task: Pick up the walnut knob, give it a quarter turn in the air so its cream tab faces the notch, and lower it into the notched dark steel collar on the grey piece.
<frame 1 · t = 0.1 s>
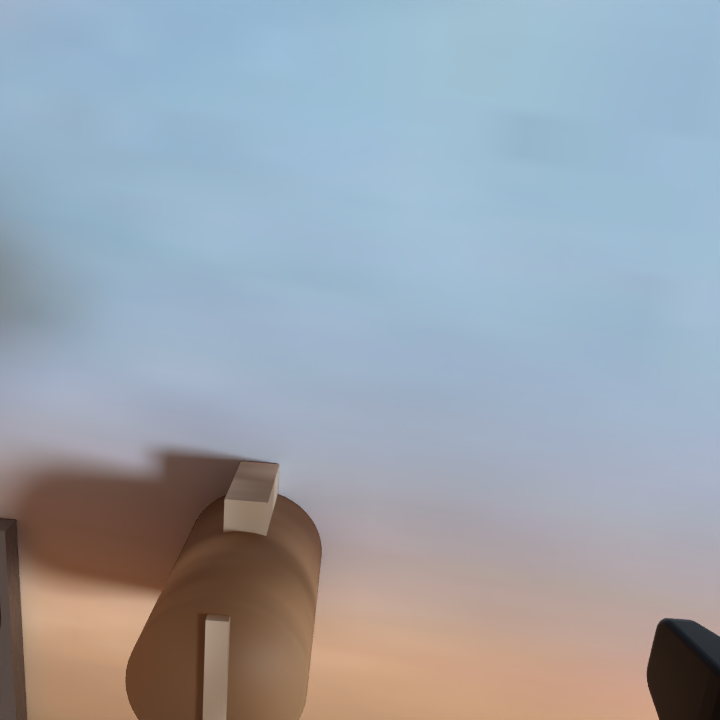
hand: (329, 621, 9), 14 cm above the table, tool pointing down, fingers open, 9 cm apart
knob: (255, 550, 25), on the table
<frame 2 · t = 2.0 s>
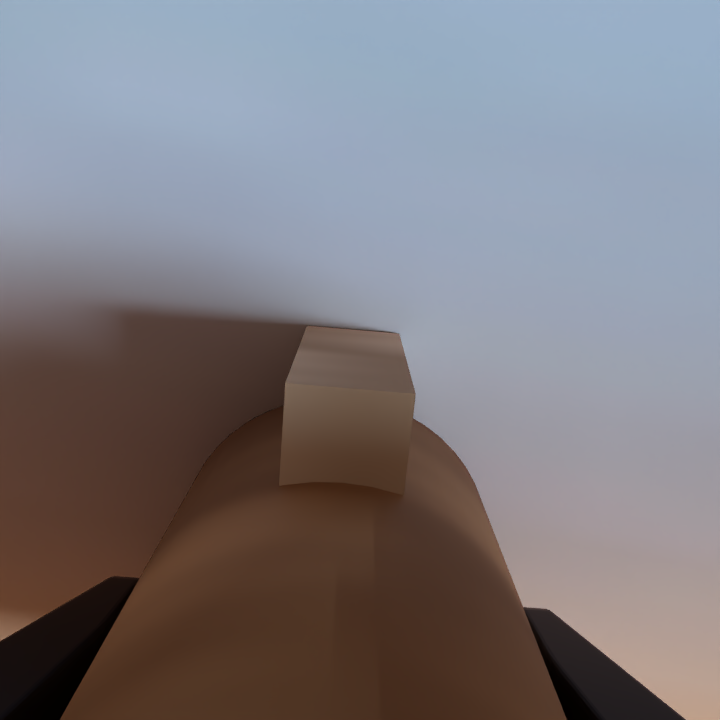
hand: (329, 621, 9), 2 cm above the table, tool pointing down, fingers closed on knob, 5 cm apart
knob: (334, 541, 11), on the table, touching gripper
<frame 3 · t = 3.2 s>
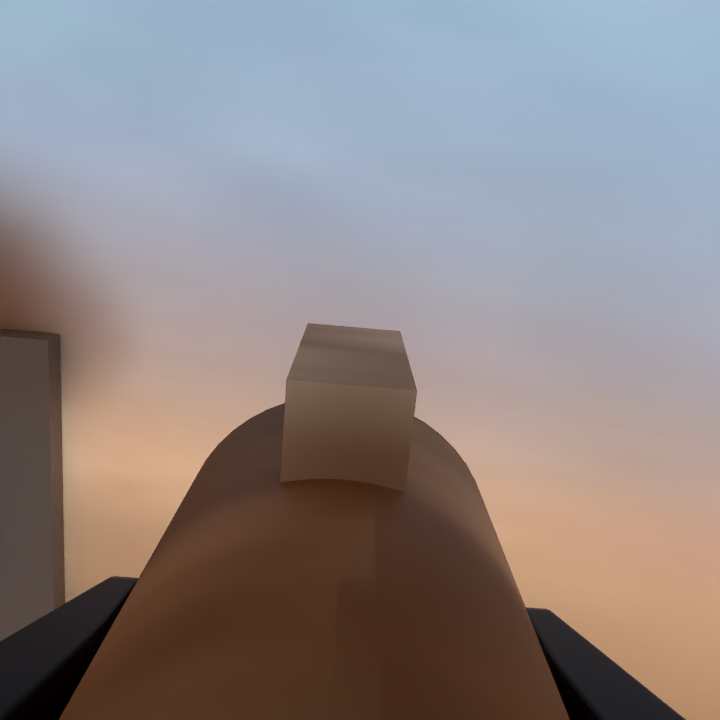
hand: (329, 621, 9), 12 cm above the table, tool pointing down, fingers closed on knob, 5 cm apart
knob: (335, 539, 11), point 10 cm above the table, touching gripper
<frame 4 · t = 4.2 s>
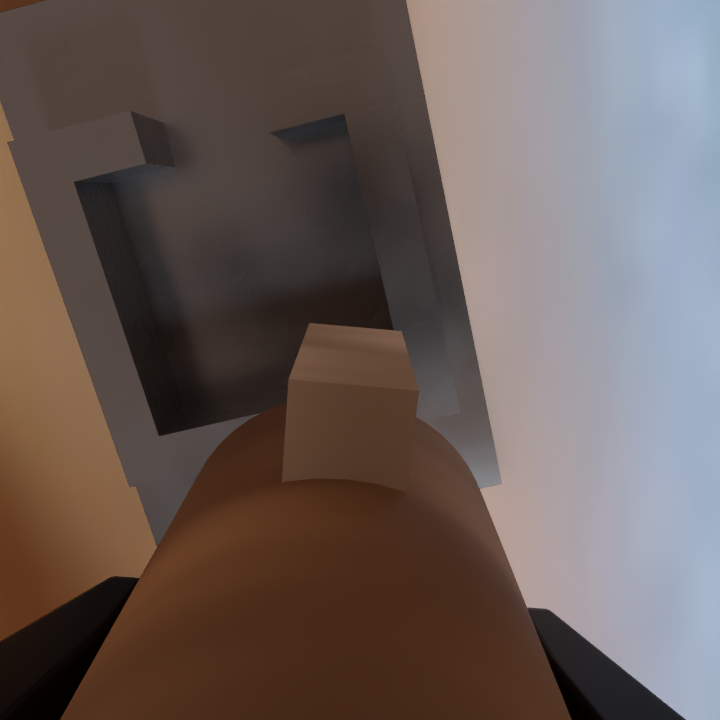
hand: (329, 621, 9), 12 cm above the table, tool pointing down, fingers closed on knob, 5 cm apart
grey piece: (264, 269, 19), on the table
knob: (336, 539, 11), point 10 cm above the table, touching gripper
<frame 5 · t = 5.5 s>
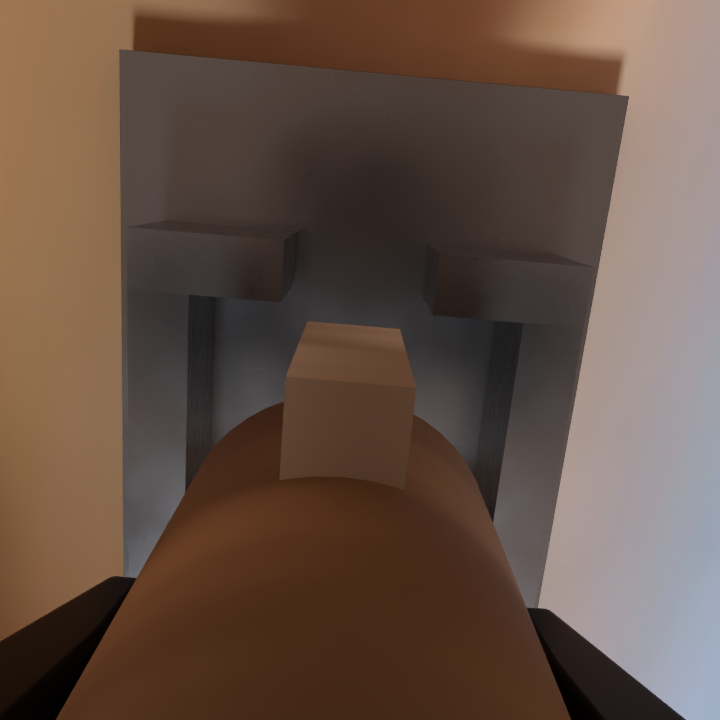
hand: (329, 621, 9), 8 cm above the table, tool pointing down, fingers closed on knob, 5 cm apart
grey piece: (347, 411, 17), on the table
knob: (335, 538, 11), point 6 cm above the table, touching gripper
when the fingers open (4 cm above the table, at t = 6.6 s): knob drops 1 cm, resting on grey piece.
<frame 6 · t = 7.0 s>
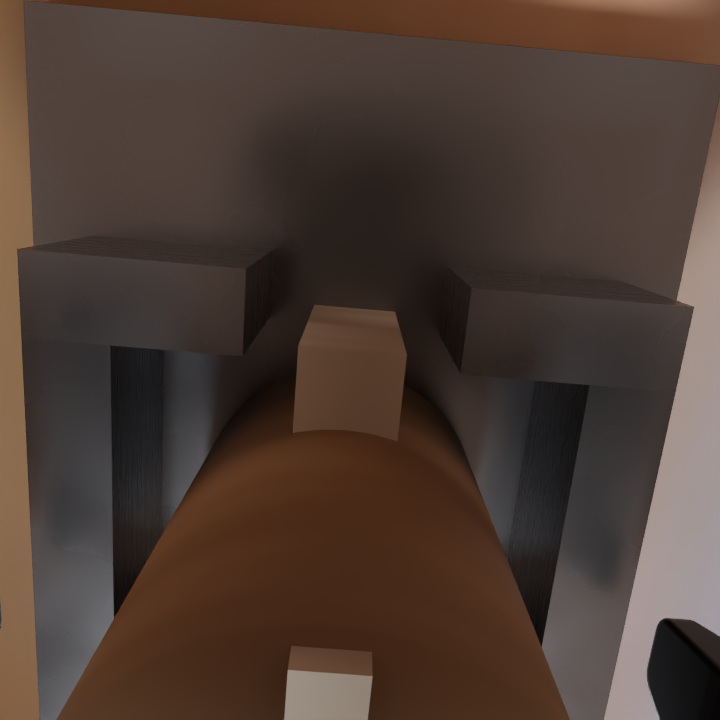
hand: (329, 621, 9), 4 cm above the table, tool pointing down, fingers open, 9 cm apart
grey piece: (340, 481, 13), on the table
knob: (338, 497, 12), point 1 cm above the table, touching grey piece
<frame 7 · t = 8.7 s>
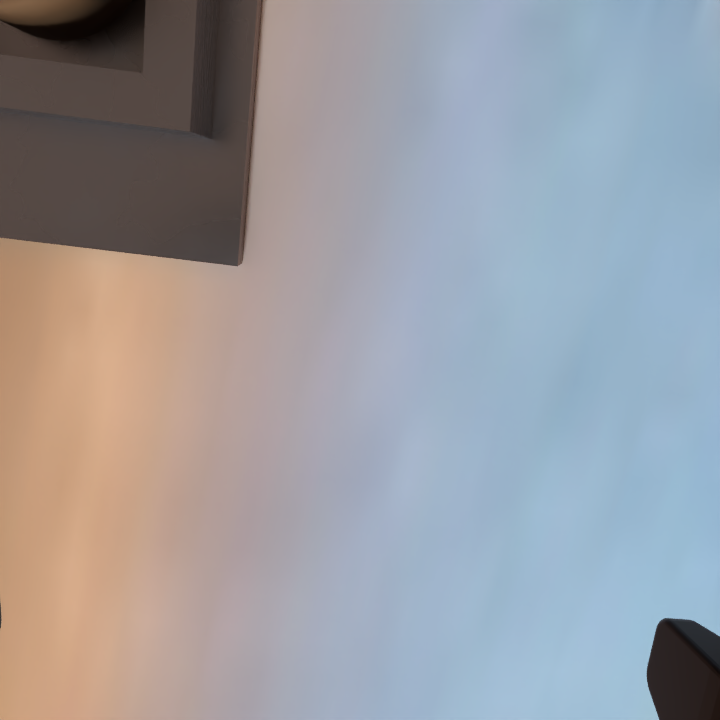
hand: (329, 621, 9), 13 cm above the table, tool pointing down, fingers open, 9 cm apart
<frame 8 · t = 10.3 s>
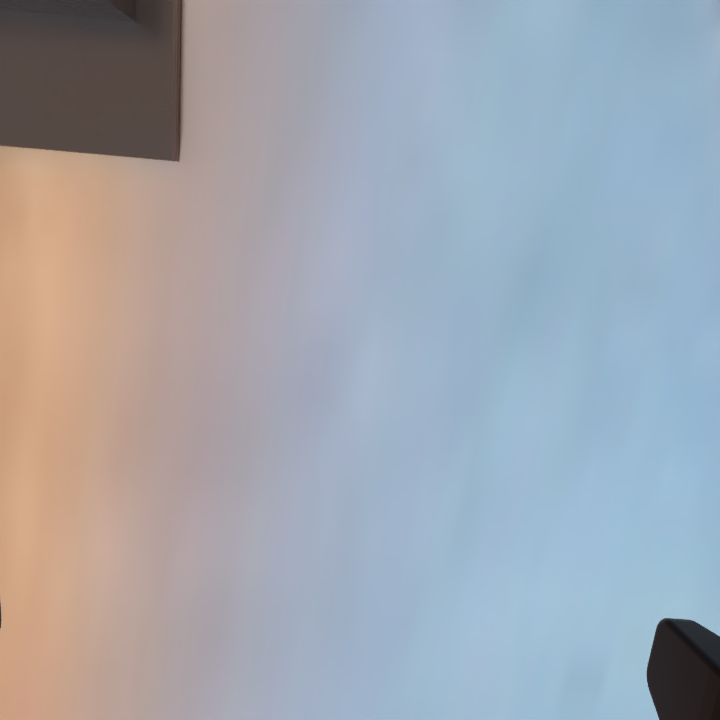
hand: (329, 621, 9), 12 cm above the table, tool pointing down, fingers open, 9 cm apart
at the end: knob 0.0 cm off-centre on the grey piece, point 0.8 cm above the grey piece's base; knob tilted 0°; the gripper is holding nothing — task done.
